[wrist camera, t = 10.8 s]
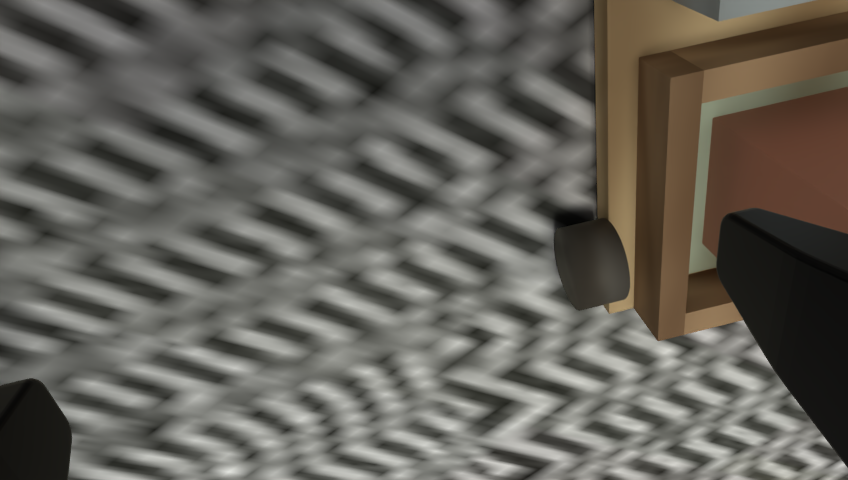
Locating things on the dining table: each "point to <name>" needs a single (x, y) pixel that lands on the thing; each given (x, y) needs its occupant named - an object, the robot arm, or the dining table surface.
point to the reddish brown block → (781, 163)
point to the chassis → (682, 141)
